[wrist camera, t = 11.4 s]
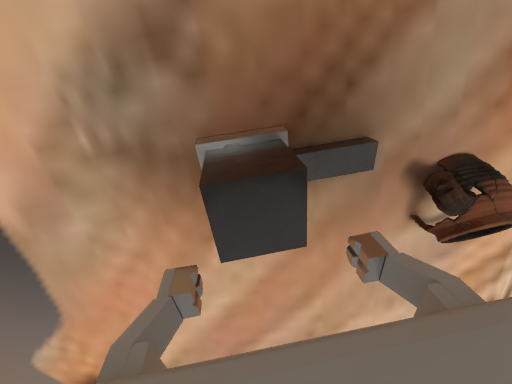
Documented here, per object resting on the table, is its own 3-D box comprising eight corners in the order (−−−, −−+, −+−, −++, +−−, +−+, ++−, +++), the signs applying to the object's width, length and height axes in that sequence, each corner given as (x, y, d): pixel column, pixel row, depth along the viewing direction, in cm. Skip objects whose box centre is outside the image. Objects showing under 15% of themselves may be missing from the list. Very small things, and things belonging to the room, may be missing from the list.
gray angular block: (372, 111, 21) (420, 124, 16) (361, 183, 25) (396, 212, 20) (196, 138, 20) (188, 161, 15) (215, 209, 24) (213, 247, 19)
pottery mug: (492, 160, 27) (546, 221, 23) (413, 195, 33) (444, 248, 29) (460, 130, 20) (527, 207, 16) (370, 181, 27) (402, 246, 23)
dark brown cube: (280, 138, 19) (307, 167, 13) (284, 201, 22) (306, 246, 16) (205, 150, 18) (199, 185, 13) (220, 213, 22) (220, 263, 16)
